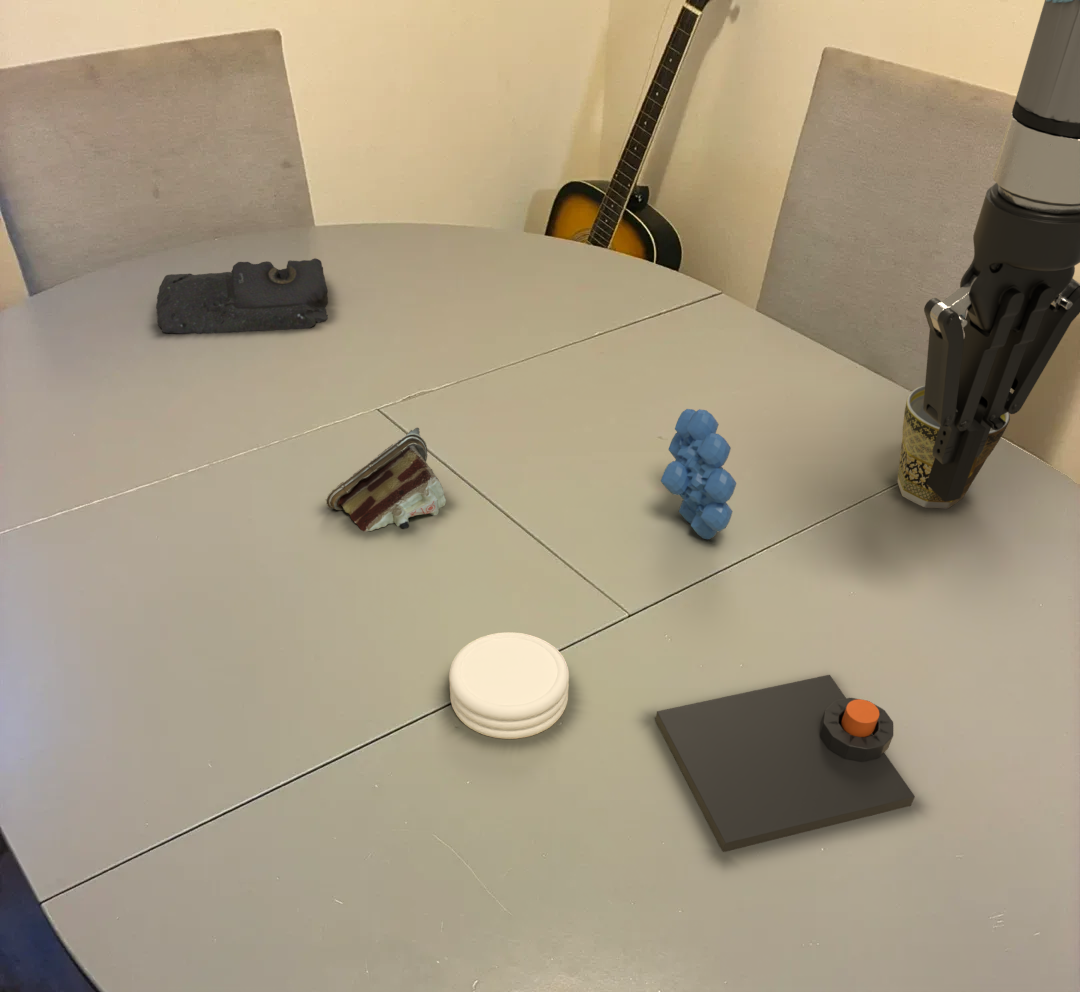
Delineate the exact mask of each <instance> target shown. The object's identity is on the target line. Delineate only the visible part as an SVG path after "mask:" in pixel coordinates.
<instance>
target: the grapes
mask: <svg viewBox="0 0 1080 992" xmlns="http://www.w3.org/2000/svg"><path fill="white" fill-rule="evenodd" d="M718 427H719V422H718V421H717V420H716V418H715V417H714V416H713V414H712V413H711V412H709V411H708V410H707V409H701V408H699V409H697V410H695V409H693V408H692V409H691V408H686V409H684V410H683V411H682V412H681V413H680V415H679V417H678V418H677V420H676V424H675V427H674V430H675V434H674V435H673V437H672V439H671V441H670V444H669V447H668V451H669V452H670V454H671V455H672V457H673V458H674V460H672V461H671V462H669V463H668V464H667V465H666V467H665V469H664V471H663V473H662V476H661V479H660V482H661V484H662V485H663V486H664V487H665V489H666V490H667V491H668V492H669V493H671V494H672V495H675V496H680V498H681V499H682V501H681V503H680V507H679V510H678V513H679V514H680V515H681V517H682V518H683V519H684V521H686V522H687V523H689V525H690V527H691V528H692V530H693V531H694V532H695V533H696V535H698V536H699V538H702V539H705V540H711V539H713V538H714V537H716V535H717V534H718V532H721V531H723V530H725V529H726V528H728V525H729V523H730V521H731V518H732V515H733V510H732V508H731V507H730V505H729V504H728V503H727V502H728V501H730V500H731V499H732V496H733V494H734V492H735V489H736V486H737V481H736V480H735V478H734V477H733V476H732V474H731V473H730V472H729V471H728V470H726V469H725V468H724V467H723V466H724V465H725V464H726V463H727V460H728V458H729V456H730V452H731V450H732V447H731V446H730V444H729V442H727V440H726V439H725V438H724V437H723V436H722V435H721V434H720V433H717V431H718Z"/></svg>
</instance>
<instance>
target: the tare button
mask: <svg viewBox="0 0 1080 992" xmlns="http://www.w3.org/2000/svg"><path fill="white" fill-rule="evenodd" d="M856 699H857V700H853V701H851V702H849V703H848V704H847V707H846V709H845V712H844V715H843V718H842V722H841V723H842V727H843V729H844V730H845V731H846V732H847V733H849V734H850V735H853V736H856V737H867V736H869V735H871V734H872V733H873V731H874V729H875V726H876V723H877V721H878V718H879V710H878V708H877V707H876V706H875V705H876V704H875V703H873V702H872V701H870V702H869V700H867V699H862V700H861V698H856ZM866 700H867V701H866ZM871 702H872V703H871ZM874 704H875V705H874ZM872 735H873V734H872Z"/></svg>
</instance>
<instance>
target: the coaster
mask: <svg viewBox="0 0 1080 992" xmlns="http://www.w3.org/2000/svg"><path fill="white" fill-rule="evenodd" d="M569 670H570V669H569V667H568V664H567V661H566V659H565V657H564V656H563V654H562V653H561V652H560V651H559V649H558V648H557V647H555V646H554V645H553V644H551V643H550V642H548V641H546V640H544V639H543V638H540V637H538V636H535V635H530V634H527V633H523V632H514V631H513V632H512V631H509V632H508V631H505V632H504V631H503V632H502V631H501V632H495V633H491V634H487V635H483V636H480V637H478V638H476V639H473V640H472V641H470V642H468V643H467V644H466V645H464V646H463V647H462V648H461V649H460V650H458V652H457V653H456V655H454V658H453V660H452V662H451V665H450V668H449V673H448V681H449V694H450V695H449V698H450V699H449V700H450V704H451V706H452V709H453V711H454V713H455V715H456V716H457V718H458V719H459V720H460V721H461V722H462V723H463V725H465V726H466V727H468V728H469V729H470V730H472V731H474V732H476V733H479V734H481V735H483V736H487V737H490V738H496V739H503V740H515V739H524V738H528V737H532V736H535V735H537V734H540V733H543V732H544V731H547V730H548V729H549V728H551V727H552V726H553V725H555V724H556V722H557V721H559V720H560V718H561V717H562V716H563V714H564V712H565V709H566V707H567V705H568V700H569V687H570V686H569V683H570V671H569Z"/></svg>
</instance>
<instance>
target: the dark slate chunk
mask: <svg viewBox="0 0 1080 992" xmlns="http://www.w3.org/2000/svg"><path fill="white" fill-rule="evenodd" d="M324 273H325V272H324V267H323V263H322V261H321V260H320V259H319V258H316V257H315V258H312V259H310V260H306V259H305V260H304V259H303V260H287V263H286V268H281V269H278V268H277V267H275V266H274V264H273V263H272V262H271V261H268V260H267V261H261V262H260V263H252V262H250V261H237V262H236V263H235V264H234V265H232V269H231V271H224V272H209V273H208V272H207V273H199V274H192V273H177V274H173V273H172V274H166V275H165V276H164V278H163V279H162V281H161V283H160V285H159V287H158V292H157V296H156V306H155V310H156V316H157V318H156V319H157V321H156V322H157V324H158V326H159V328H161V331H162V332H163V333H166V334H180V335H191V334H197V335H201V334H208V335H209V334H230V333H231V334H233V333H237V334H239V333H246V332H247V333H248V332H249V333H253V332H274V331H290V330H306V329H307V330H308V329H310V328H312V327H314V326H316V324H319V323H325V322H326V321H327V320H328V319H329V317H328V316H329V314H328V313H327V309H326V307H327V306H328V304H329V298H328V297H329V296H328V286H327V282H326V277H325V274H324Z"/></svg>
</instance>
